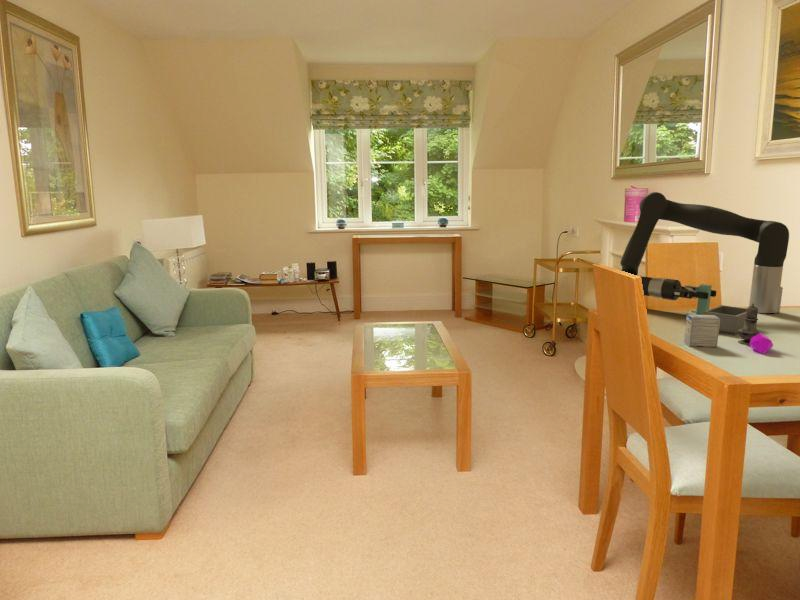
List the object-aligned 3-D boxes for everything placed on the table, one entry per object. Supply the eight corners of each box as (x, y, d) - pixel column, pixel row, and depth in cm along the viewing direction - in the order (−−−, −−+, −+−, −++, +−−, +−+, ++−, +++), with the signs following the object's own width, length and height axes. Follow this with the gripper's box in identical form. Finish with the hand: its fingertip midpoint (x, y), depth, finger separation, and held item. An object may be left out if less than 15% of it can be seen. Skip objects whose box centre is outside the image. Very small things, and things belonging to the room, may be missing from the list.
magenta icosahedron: (745, 349, 176) (747, 333, 175) (759, 348, 178) (761, 332, 177) (762, 354, 171) (764, 338, 170) (776, 352, 173) (778, 336, 172)
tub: (720, 322, 210) (721, 305, 209) (752, 327, 203) (754, 309, 202) (701, 329, 199) (703, 311, 198) (735, 335, 192) (737, 316, 191)
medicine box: (711, 343, 182) (714, 315, 180) (717, 347, 177) (720, 318, 176) (683, 342, 182) (686, 314, 181) (688, 346, 178) (691, 317, 176)
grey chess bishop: (752, 346, 179) (757, 305, 177) (732, 342, 184) (737, 302, 182) (763, 344, 182) (768, 304, 180) (743, 339, 187) (748, 300, 185)
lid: (702, 310, 232) (705, 279, 230) (733, 315, 225) (737, 282, 222) (683, 316, 221) (687, 283, 219) (716, 321, 213) (720, 287, 211)
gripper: (656, 280, 221) (705, 286, 210) (673, 276, 231) (720, 282, 219) (654, 301, 223) (703, 308, 211) (671, 296, 233) (718, 303, 221)
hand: (711, 294), depth 215 cm, fingers open, 6 cm apart
